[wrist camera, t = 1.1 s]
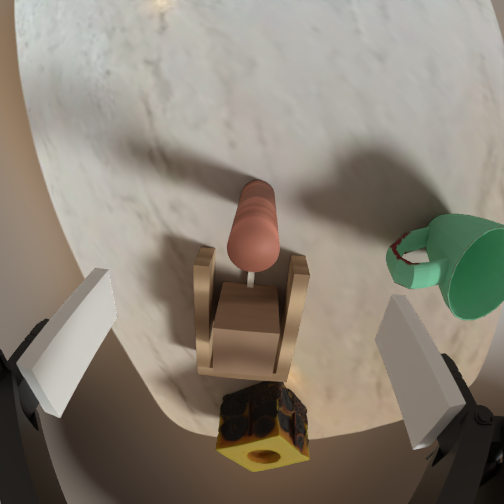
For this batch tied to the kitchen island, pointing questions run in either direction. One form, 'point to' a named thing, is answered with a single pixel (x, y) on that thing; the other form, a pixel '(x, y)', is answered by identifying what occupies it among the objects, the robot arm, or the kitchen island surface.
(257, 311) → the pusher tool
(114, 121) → the kitchen island surface
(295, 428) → the toy block
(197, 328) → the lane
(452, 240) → the mug
